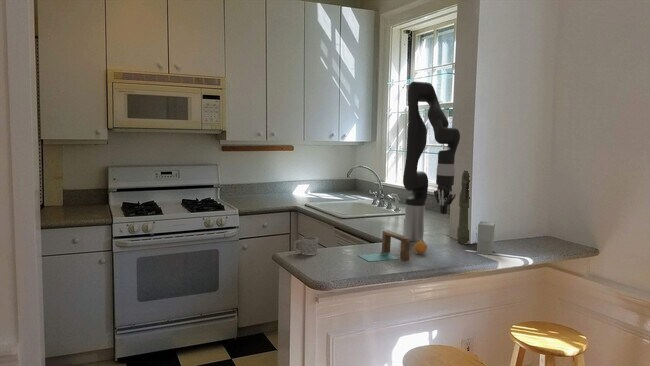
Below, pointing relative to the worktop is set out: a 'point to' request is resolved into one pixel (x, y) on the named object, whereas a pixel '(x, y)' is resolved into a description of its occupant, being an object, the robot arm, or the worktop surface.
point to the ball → (420, 247)
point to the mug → (307, 245)
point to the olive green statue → (463, 209)
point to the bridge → (404, 244)
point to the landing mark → (378, 257)
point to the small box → (485, 237)
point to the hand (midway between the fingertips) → (443, 213)
